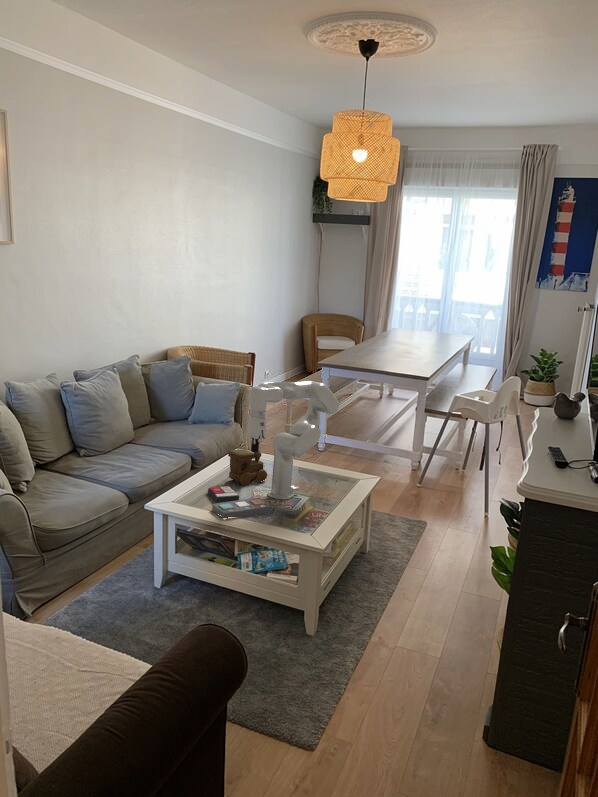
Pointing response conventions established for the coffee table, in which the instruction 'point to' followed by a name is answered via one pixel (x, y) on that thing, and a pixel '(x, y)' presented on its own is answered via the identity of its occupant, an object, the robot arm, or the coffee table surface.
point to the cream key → (242, 504)
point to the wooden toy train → (246, 466)
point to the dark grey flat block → (242, 509)
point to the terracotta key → (257, 502)
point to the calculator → (222, 494)
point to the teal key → (226, 507)
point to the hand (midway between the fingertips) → (254, 451)
